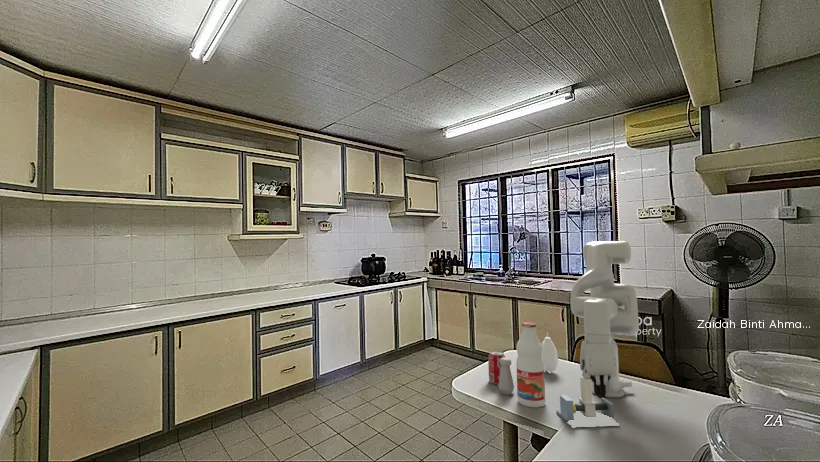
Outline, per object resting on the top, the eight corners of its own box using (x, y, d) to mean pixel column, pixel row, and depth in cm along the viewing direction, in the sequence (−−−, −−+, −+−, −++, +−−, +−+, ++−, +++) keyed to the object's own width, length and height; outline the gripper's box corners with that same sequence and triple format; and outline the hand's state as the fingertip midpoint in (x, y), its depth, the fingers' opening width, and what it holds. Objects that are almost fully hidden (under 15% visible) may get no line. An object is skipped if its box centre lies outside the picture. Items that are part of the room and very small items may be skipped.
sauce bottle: (541, 375, 152) (540, 333, 153) (538, 369, 160) (536, 329, 161) (560, 376, 151) (558, 333, 152) (556, 370, 158) (554, 329, 159)
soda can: (508, 381, 146) (507, 351, 146) (503, 386, 140) (502, 356, 140) (492, 378, 149) (491, 349, 150) (486, 383, 143) (485, 353, 144)
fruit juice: (550, 402, 125) (547, 323, 126) (537, 410, 118) (534, 327, 120) (525, 394, 131) (523, 319, 133) (512, 402, 125) (510, 323, 127)
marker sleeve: (588, 410, 114) (586, 375, 115) (595, 416, 110) (594, 380, 111) (579, 411, 114) (577, 375, 115) (586, 417, 110) (584, 380, 110)
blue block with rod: (600, 411, 117) (599, 390, 118) (619, 426, 107) (618, 402, 108) (556, 413, 116) (555, 391, 117) (572, 428, 106) (571, 404, 107)
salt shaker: (496, 390, 136) (495, 356, 137) (510, 389, 137) (509, 355, 138) (501, 396, 130) (500, 360, 131) (516, 395, 131) (515, 360, 132)
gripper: (612, 335, 118) (614, 390, 117) (569, 336, 117) (571, 392, 116) (627, 340, 110) (630, 400, 109) (581, 341, 109) (584, 402, 108)
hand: (600, 396), depth 112 cm, fingers closed
